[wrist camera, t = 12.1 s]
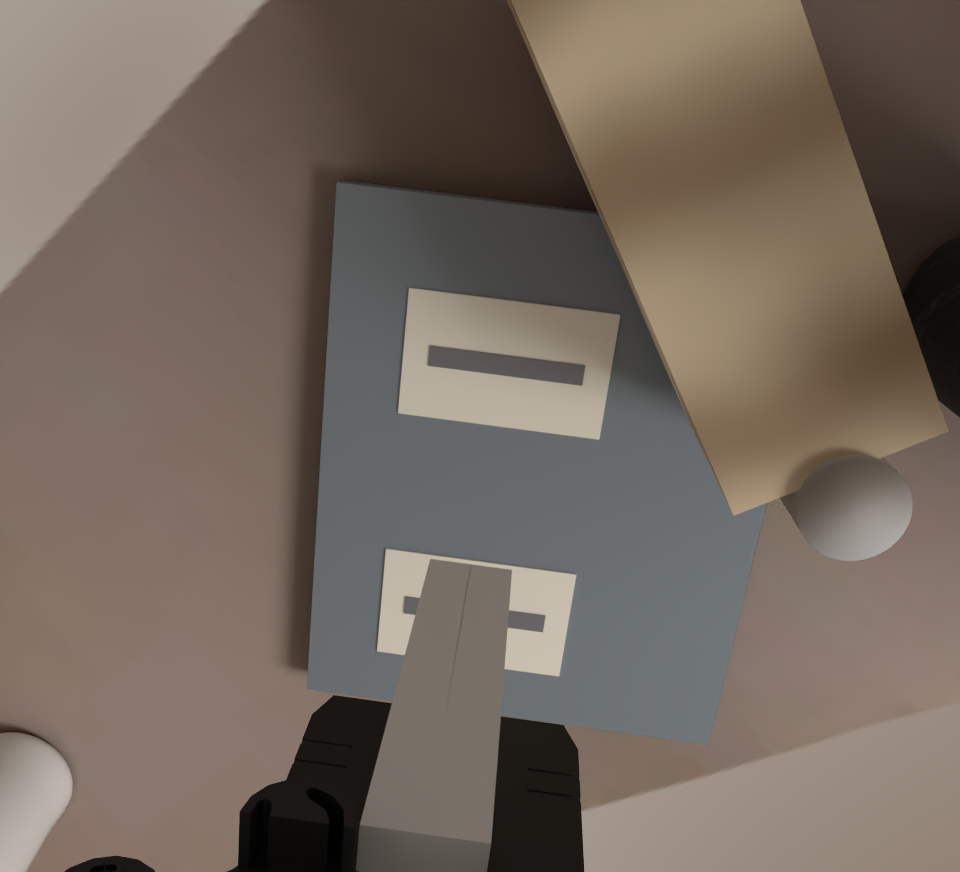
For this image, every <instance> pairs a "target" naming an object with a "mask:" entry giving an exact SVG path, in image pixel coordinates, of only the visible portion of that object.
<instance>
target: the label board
mask: <svg viewBox="0 0 960 872" xmlns="http://www.w3.org/2000/svg"><path fill="white" fill-rule="evenodd" d="M766 506H767V503H765V504H763V505H760V506H758V507H755V508H753V509H750V510H747V511H745V512H742V513H740V514H737V515H735V516H733V513H732V511H731V509H730V507H729V505H728V503H727V501H726V499H725V497H724V495H723V492H722V490H721V488H720V486H719V484H718V482H717V480H716V478H715V476H714V474H713V471H712V469H711V467H710V465H709V463H708V461H707V459H706V457H705V455H704V453H703V450H702V448H701V446H700V444H699V442H698V440H697V438H696V436H695V434H694V431H693V429H692V427H691V425H690V423H689V421H688V419H687V417H686V414H685V412H684V410H683V408H682V405H681V403H680V401H679V398H678V396H677V394H676V391H675V389H674V387H673V384H672V382H671V380H670V378H669V375H668V373H667V371H666V368H665V366H664V364H663V361H662V359H661V357H660V354H659V352H658V350H657V348H656V345H655V343H654V341H653V338H652V336H651V334H650V331H649V329H648V327H647V324H646V322H645V320H644V318H643V315H642V313H641V311H640V308H639V306H638V304H637V301H636V299H635V297H634V294H633V292H632V290H631V288H630V285H629V283H628V281H627V278H626V276H625V274H624V271H623V269H622V267H621V264H620V262H619V260H618V258H617V255H616V253H615V251H614V248H613V246H612V244H611V241H610V239H609V237H608V234H607V232H606V230H605V228H604V225H603V223H602V221H601V218H600V216H599V214H598V212H595V211H587V210H579V209H571V208H563V207H555V206H547V205H539V204H531V203H523V202H514V201H506V200H498V199H490V198H482V197H474V196H466V195H458V194H450V193H442V192H434V191H426V190H418V189H410V188H402V187H394V186H386V185H378V184H370V183H362V182H354V181H346V180H343V181H339V182H337V183H336V200H335V217H334V234H333V252H332V269H331V286H330V303H329V320H328V337H327V354H326V371H325V388H324V405H323V422H322V439H321V456H320V473H319V490H318V507H317V524H316V541H315V558H314V576H313V593H312V610H311V627H310V644H309V661H308V678H307V689H312V690H320V691H327V692H334V693H341V694H348V695H355V696H362V697H370V698H377V699H384V700H391V701H393V697H394V694H395V690H396V686H397V682H398V679H399V675H400V671H401V667H402V664H403V660H404V656H405V652H406V648H407V645H408V641H409V637H410V633H411V630H412V626H413V622H414V618H415V614H416V611H417V607H418V603H419V599H420V596H421V592H422V588H423V584H424V581H425V577H426V573H427V569H428V565H429V562H430V559H436V560H443V561H450V562H458V563H465V564H472V565H480V566H487V567H495V568H502V569H509V570H512V577H511V590H510V603H509V616H508V629H507V642H506V655H505V668H504V682H503V695H502V708H501V716H505V717H512V718H519V719H526V720H534V721H541V722H548V723H555V724H562V725H569V726H576V727H584V728H591V729H598V730H605V731H612V732H619V733H626V734H633V735H641V736H648V737H655V738H662V739H669V740H676V741H683V742H691V743H698V744H705V745H709V741H710V737H711V732H712V728H713V724H714V720H715V716H716V712H717V708H718V704H719V699H720V695H721V691H722V687H723V683H724V679H725V675H726V671H727V666H728V662H729V658H730V654H731V650H732V646H733V642H734V638H735V633H736V629H737V625H738V621H739V617H740V613H741V609H742V605H743V601H744V596H745V592H746V588H747V584H748V580H749V576H750V572H751V568H752V563H753V559H754V555H755V551H756V547H757V543H758V539H759V535H760V530H761V526H762V522H763V518H764V514H765V510H766Z"/></svg>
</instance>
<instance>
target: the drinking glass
mask: <svg viewBox="0 0 960 872" xmlns="http://www.w3.org/2000/svg"><path fill="white" fill-rule="evenodd" d="M72 792H73V779H72V774H71V771H70V769H69V766H68V764H67V763H66V761H65V759H64V758H63V757H62V755H61V754H60V753H59V752H58V751H57V750H56V749H55V748H53V747H52V746H51V745H50V744H48V743H47V742H45V741H43V740H41V739H39V738H37V737H34V736H32V735H28V734H24V733H18V732H5V733H0V872H27V871H28V869H29V867H30V865H31V864H32V862H33V860H34V859H35V857H36V855H37V853H38V852H39V850H40V848H41V846H42V845H43V843H44V841H45V840H46V838H47V836H48V834H49V833H50V831H51V830H52V828H53V827H54V825H55V824H56V823H57V821H58V820H59V818H60V817H61V815H62V814H63V812H64V811H65V809H66V808H67V806H68V804H69V802H70V799H71V796H72Z"/></svg>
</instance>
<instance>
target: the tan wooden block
mask: <svg viewBox="0 0 960 872" xmlns="http://www.w3.org/2000/svg"><path fill="white" fill-rule="evenodd" d="M506 1H507V4H508V6H509V8H510V11H511V13H512V15H513V17H514V20H515V22H516V24H517V27H518V29H519V31H520V34H521V36H522V38H523V41H524V43H525V45H526V47H527V50H528V52H529V54H530V57H531V59H532V61H533V64H534V66H535V68H536V71H537V73H538V75H539V77H540V80H541V82H542V84H543V87H544V89H545V91H546V94H547V96H548V98H549V101H550V103H551V105H552V108H553V110H554V112H555V114H556V117H557V119H558V121H559V124H560V126H561V128H562V131H563V133H564V135H565V138H566V140H567V142H568V144H569V147H570V149H571V151H572V154H573V156H574V158H575V161H576V163H577V165H578V168H579V170H580V172H581V174H582V177H583V179H584V181H585V184H586V186H587V188H588V191H589V193H590V195H591V198H592V200H593V202H594V204H595V207H596V209H597V211H598V214H599V216H600V218H601V221H602V223H603V225H604V228H605V230H606V232H607V234H608V237H609V239H610V241H611V244H612V246H613V248H614V251H615V253H616V255H617V258H618V260H619V262H620V264H621V267H622V269H623V271H624V274H625V276H626V278H627V281H628V283H629V285H630V288H631V290H632V292H633V294H634V297H635V299H636V301H637V304H638V306H639V308H640V311H641V313H642V315H643V318H644V320H645V322H646V324H647V327H648V329H649V331H650V334H651V336H652V338H653V341H654V343H655V345H656V348H657V350H658V352H659V354H660V357H661V359H662V361H663V364H664V366H665V368H666V371H667V373H668V375H669V378H670V380H671V382H672V384H673V387H674V389H675V391H676V394H677V396H678V398H679V401H680V403H681V405H682V408H683V410H684V412H685V414H686V417H687V419H688V421H689V423H690V425H691V427H692V429H693V431H694V434H695V436H696V438H697V440H698V442H699V444H700V446H701V448H702V450H703V453H704V455H705V457H706V459H707V461H708V463H709V465H710V467H711V469H712V471H713V474H714V476H715V478H716V480H717V482H718V484H719V486H720V488H721V490H722V492H723V495H724V497H725V499H726V501H727V503H728V505H729V507H730V509H731V511H732V513H733V516H735V515H737V514H740V513H742V512H745V511H747V510H750V509H753V508H755V507H758V506H760V505H763V504H765V503H768V502H770V501H773V500H775V499H778V498H780V499H781V500H782V502H783V504H784V505H785V507H786V509H787V510H788V512H789V513H790V515H791V517H792V518H793V520H794V521H795V523H796V525H797V526H798V528H799V529H800V531H801V533H802V534H803V536H804V537H805V539H806V540H807V542H808V543H809V544H810V545H811V546H812V547H813V548H814V549H815V550H816V551H818V552H819V553H821V554H823V555H825V556H827V557H829V558H833V559H836V560H842V561H858V560H864V559H868V558H871V557H874V556H876V555H878V554H880V553H882V552H884V551H886V550H887V549H889V548H890V547H891V546H893V545H894V544H895V543H896V542H897V541H898V540H899V539H900V537H901V536H902V535H903V533H904V532H905V530H906V529H907V527H908V525H909V522H910V519H911V516H912V510H913V501H912V495H911V491H910V489H909V487H908V484H907V483H906V481H905V480H904V479H903V477H902V476H901V475H900V474H899V473H898V472H897V471H896V470H895V469H894V468H893V467H892V466H891V465H890V464H889V463H888V462H887V461H886V460H885V459H884V458H883V457H885V456H888V455H890V454H893V453H895V452H898V451H900V450H903V449H906V448H908V447H911V446H913V445H916V444H918V443H921V442H923V441H926V440H929V439H931V438H934V437H936V436H939V435H941V434H944V433H946V432H949V430H948V427H947V424H946V421H945V418H944V416H943V413H942V410H941V407H940V404H939V401H938V398H937V395H936V392H935V389H934V387H933V384H932V381H931V378H930V375H929V372H928V369H927V366H926V363H925V360H924V358H923V355H922V352H921V349H920V346H919V343H918V340H917V337H916V334H915V331H914V328H913V326H912V323H911V320H910V317H909V314H908V311H907V308H906V305H905V302H904V299H903V297H902V294H901V291H900V288H899V285H898V282H897V279H896V276H895V273H894V270H893V268H892V265H891V262H890V259H889V256H888V253H887V250H886V247H885V244H884V241H883V238H882V236H881V233H880V230H879V227H878V224H877V221H876V218H875V215H874V212H873V209H872V207H871V204H870V201H869V198H868V195H867V192H866V189H865V186H864V183H863V180H862V178H861V175H860V172H859V169H858V166H857V163H856V160H855V157H854V154H853V151H852V149H851V146H850V143H849V140H848V137H847V134H846V131H845V128H844V125H843V122H842V119H841V117H840V114H839V111H838V108H837V105H836V102H835V99H834V96H833V93H832V90H831V88H830V85H829V82H828V79H827V76H826V73H825V70H824V67H823V64H822V61H821V59H820V56H819V53H818V50H817V47H816V44H815V41H814V38H813V35H812V32H811V30H810V27H809V24H808V21H807V18H806V15H805V12H804V9H803V6H802V3H801V0H506Z"/></svg>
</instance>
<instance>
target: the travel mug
mask: <svg viewBox="0 0 960 872" xmlns="http://www.w3.org/2000/svg"><path fill="white" fill-rule="evenodd" d="M903 299H904V302H905V305H906V308H907V311H908V314H909V317H910V320H911V323H912V326H913V328H914V331H915V334H916V337H917V340H918V343H919V346H920V349H921V352H922V355H923V358H924V360H925V363H926V366H927V369H928V372H929V375H930V378H931V381H932V384H933V387H934V389H935V392H936V395H937V398H938V400H939V401H940V402H941V403H943V404H944V405H945V406H946V407H948V408H949V409H950V410H951V411H952V412H954V413H955V414H956V415H957V416H959V417H960V235H958V236H956V237H954V238H953V239H951V240H949V241H948V242H946V243H945V244H944V245H942V246H941V247H940V248H938V249H937V250H936V251H935V252H934V253H933V254H932V255H931V256H930V257H929V258H928V259H926V261H925V262H924V263H923V264H922V265H921V267H920V268H919V269H918V270H917V272H916V273H915V275H914V276H913V278H912V280H911V281H910V283H909V285H908V287H907V289H906V291H905V294H904V297H903Z"/></svg>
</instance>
